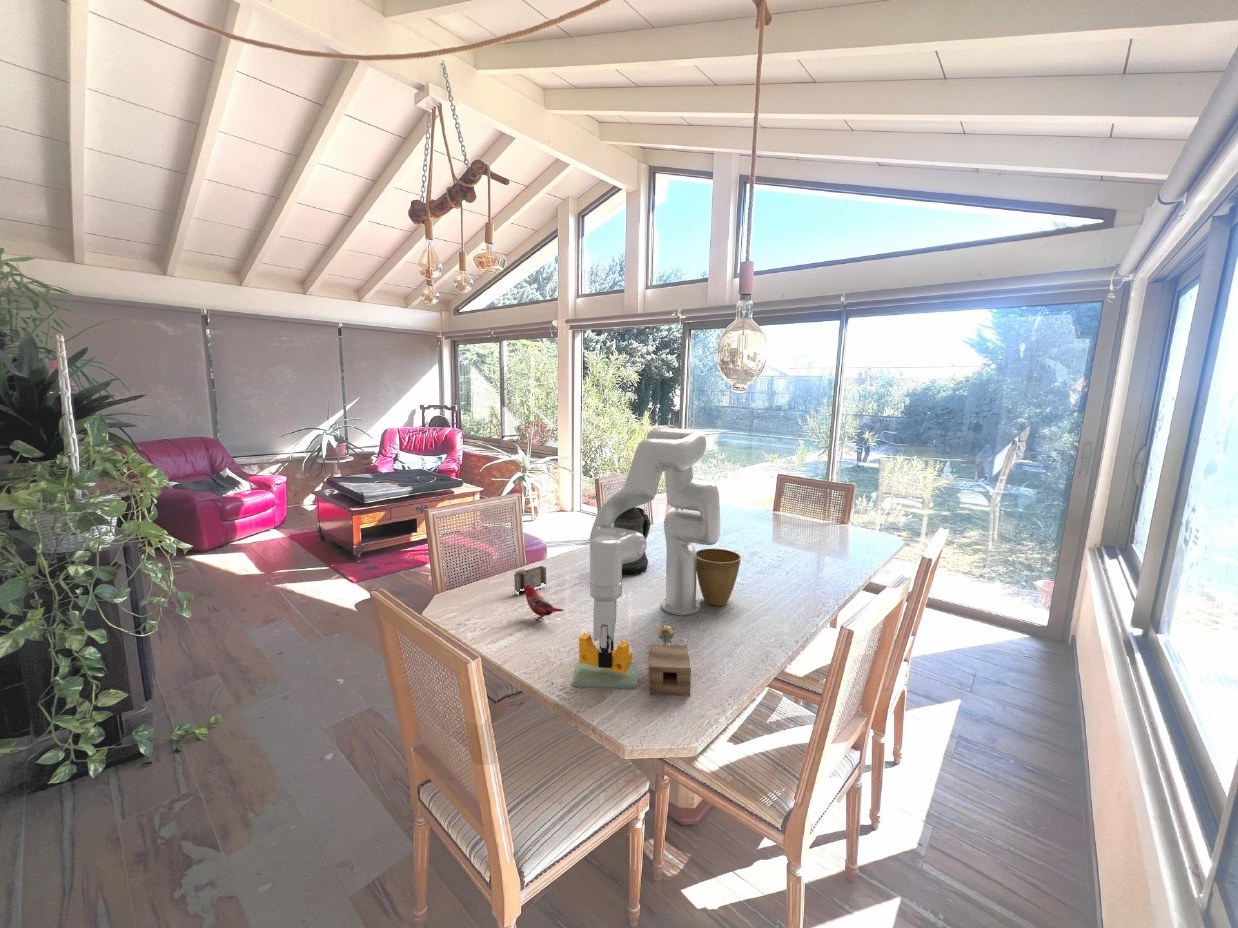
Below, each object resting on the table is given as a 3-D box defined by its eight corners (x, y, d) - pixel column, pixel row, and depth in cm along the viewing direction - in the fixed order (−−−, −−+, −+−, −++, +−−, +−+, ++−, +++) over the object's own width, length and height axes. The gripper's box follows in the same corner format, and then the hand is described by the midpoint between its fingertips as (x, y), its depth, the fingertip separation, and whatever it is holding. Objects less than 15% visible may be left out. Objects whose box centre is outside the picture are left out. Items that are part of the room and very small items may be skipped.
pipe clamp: (631, 664, 118) (631, 639, 118) (624, 673, 114) (624, 647, 114) (587, 653, 123) (587, 629, 122) (579, 662, 119) (579, 637, 118)
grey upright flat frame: (519, 597, 166) (519, 570, 165) (514, 595, 168) (514, 567, 167) (547, 588, 174) (546, 562, 172) (542, 586, 176) (541, 560, 175)
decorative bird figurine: (528, 611, 154) (527, 581, 153) (567, 628, 143) (567, 595, 142) (520, 614, 152) (519, 584, 151) (560, 632, 141) (559, 599, 139)
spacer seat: (577, 665, 124) (577, 661, 123) (637, 666, 123) (637, 662, 123) (572, 685, 115) (572, 682, 115) (636, 687, 114) (636, 683, 114)
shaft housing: (649, 670, 121) (649, 644, 120) (686, 671, 121) (686, 645, 120) (649, 694, 111) (649, 666, 110) (690, 695, 111) (690, 667, 110)
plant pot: (740, 613, 153) (741, 563, 151) (692, 609, 156) (693, 560, 154) (738, 594, 167) (740, 549, 165) (694, 590, 170) (695, 546, 168)
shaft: (658, 638, 133) (658, 624, 132) (672, 638, 133) (673, 625, 132) (660, 669, 118) (660, 654, 117) (676, 670, 118) (677, 654, 117)
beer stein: (600, 573, 187) (599, 509, 184) (615, 557, 205) (615, 499, 202) (642, 578, 182) (642, 512, 179) (654, 561, 201) (654, 501, 197)
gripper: (593, 575, 124) (594, 642, 127) (585, 603, 107) (586, 680, 110) (623, 575, 124) (623, 643, 127) (620, 604, 107) (620, 681, 110)
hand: (606, 659), depth 118 cm, fingers closed on pipe clamp, 5 cm apart
